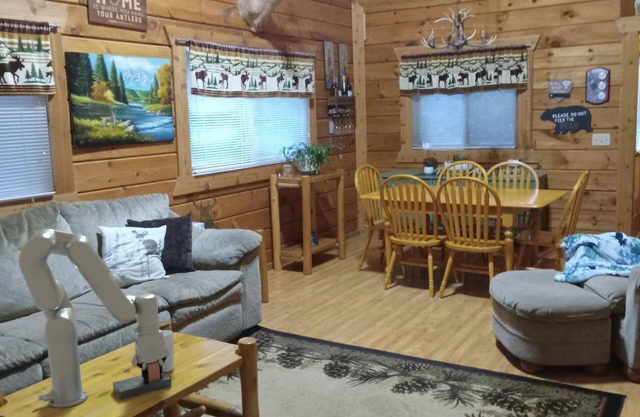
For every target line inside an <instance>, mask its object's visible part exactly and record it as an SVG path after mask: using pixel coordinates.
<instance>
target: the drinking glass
mask: <svg viewBox="0 0 640 417" xmlns="http://www.w3.org/2000/svg"><path fill="white" fill-rule="evenodd" d="M162 333H163V337H164V341H165V347H166V349H167V350H168V351H169V352H170V353H171V354H170V356H169V357H168V358H166V360H165V362H164V363H163V365H162V369H163V372H164V373H169V372H172V371H173V370H174V369H175V366H174V364H175V363H174V350H175V348H174V344H175V343H174V332H173V331H172V330H171V329H164V330H163V329H162Z"/></svg>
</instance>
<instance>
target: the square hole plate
mask: <svg viewBox="0 0 640 417" xmlns="http://www.w3.org/2000/svg"><path fill="white" fill-rule="evenodd" d="M170 387H172V379H171V377H170V376H169V375H167V373H166V372H163V373H162V376H161V377H160V379H157V380H153V381H150V382H147V381H146V380H145V379H144V378H142V374H141V375H137V376H133V377H129V378H125V379H121V380H118V381H113V382H112V389H113V392H114V393H115V394H116V395H117V397H118V398H119V399H120V400H121V401H122V400H127V399H130V398H134V397H138V396H141V395H144V394H147V393H148V394H149V393H152V392H155V391H159V390H162V389H166V388H170Z"/></svg>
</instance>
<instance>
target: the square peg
mask: <svg viewBox="0 0 640 417" xmlns="http://www.w3.org/2000/svg"><path fill="white" fill-rule="evenodd" d="M146 369H147V375H148V380H146V381H147V382H150V381H153V380H157V379H160V370H159V362H158V361H157V360H154V361H150V362H146Z"/></svg>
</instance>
